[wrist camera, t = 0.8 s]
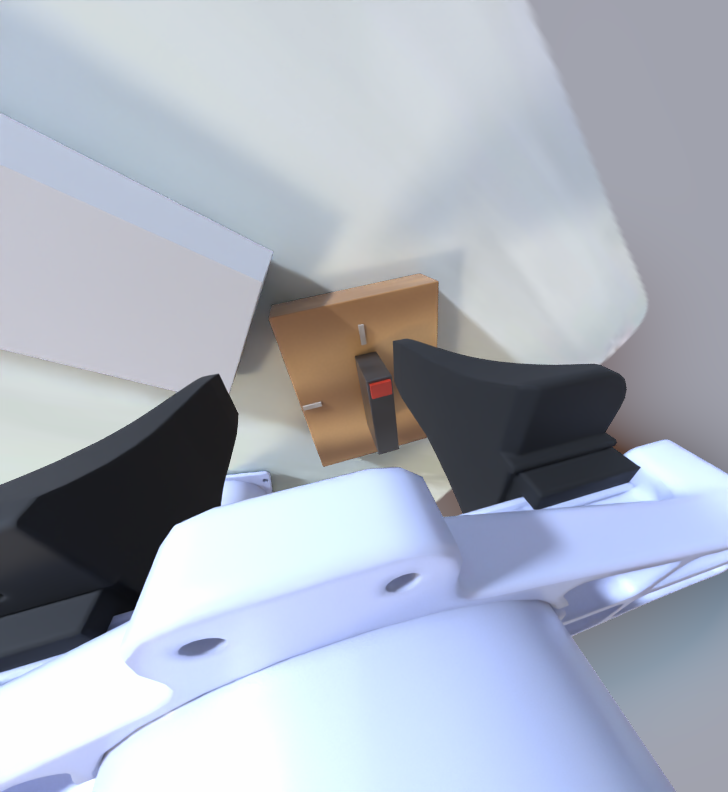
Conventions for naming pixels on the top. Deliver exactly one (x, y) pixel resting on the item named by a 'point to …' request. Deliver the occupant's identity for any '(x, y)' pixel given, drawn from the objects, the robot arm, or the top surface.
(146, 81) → the top surface
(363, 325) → the panel
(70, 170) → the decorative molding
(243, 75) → the top surface
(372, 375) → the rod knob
